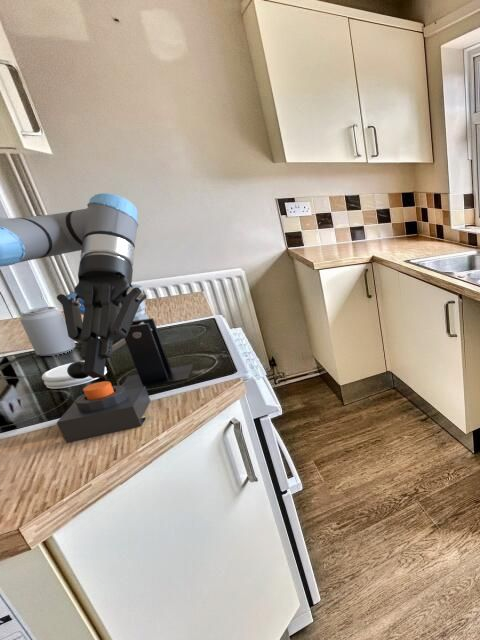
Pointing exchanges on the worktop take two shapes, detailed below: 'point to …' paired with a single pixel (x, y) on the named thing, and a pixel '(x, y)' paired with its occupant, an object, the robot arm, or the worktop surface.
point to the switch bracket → (150, 358)
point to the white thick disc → (63, 378)
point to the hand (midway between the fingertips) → (93, 374)
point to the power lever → (77, 367)
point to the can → (47, 331)
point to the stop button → (98, 390)
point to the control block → (104, 414)
